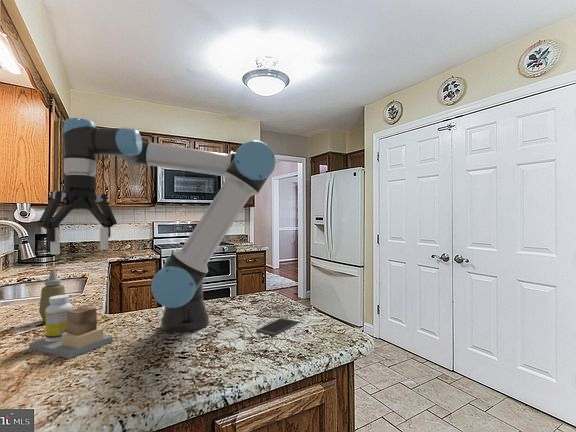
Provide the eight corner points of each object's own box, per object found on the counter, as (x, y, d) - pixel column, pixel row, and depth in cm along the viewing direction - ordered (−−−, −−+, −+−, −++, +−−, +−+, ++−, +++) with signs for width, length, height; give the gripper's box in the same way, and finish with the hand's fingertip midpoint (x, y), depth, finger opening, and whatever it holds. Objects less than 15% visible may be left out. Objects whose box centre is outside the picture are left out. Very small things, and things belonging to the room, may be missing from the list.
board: (112, 341, 91) (112, 326, 91) (69, 358, 80) (69, 341, 80) (73, 333, 98) (73, 319, 98) (29, 348, 87) (28, 332, 87)
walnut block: (85, 327, 90) (85, 306, 90) (96, 329, 88) (96, 308, 88) (67, 333, 86) (66, 311, 86) (78, 335, 84) (78, 313, 84)
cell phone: (255, 332, 97) (255, 330, 97) (281, 319, 108) (281, 317, 108) (274, 337, 93) (274, 334, 93) (299, 323, 104) (299, 321, 104)
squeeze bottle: (52, 324, 107) (51, 272, 108) (33, 323, 109) (32, 271, 109) (72, 317, 115) (72, 268, 115) (54, 316, 117) (54, 268, 117)
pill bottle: (62, 331, 95) (62, 293, 95) (78, 333, 93) (77, 294, 93) (40, 339, 89) (39, 298, 89) (56, 341, 87) (55, 300, 87)
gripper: (112, 181, 100) (113, 247, 100) (19, 171, 78) (20, 256, 77) (128, 179, 97) (129, 247, 97) (37, 168, 74) (38, 257, 74)
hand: (81, 251), depth 87 cm, fingers open, 13 cm apart
